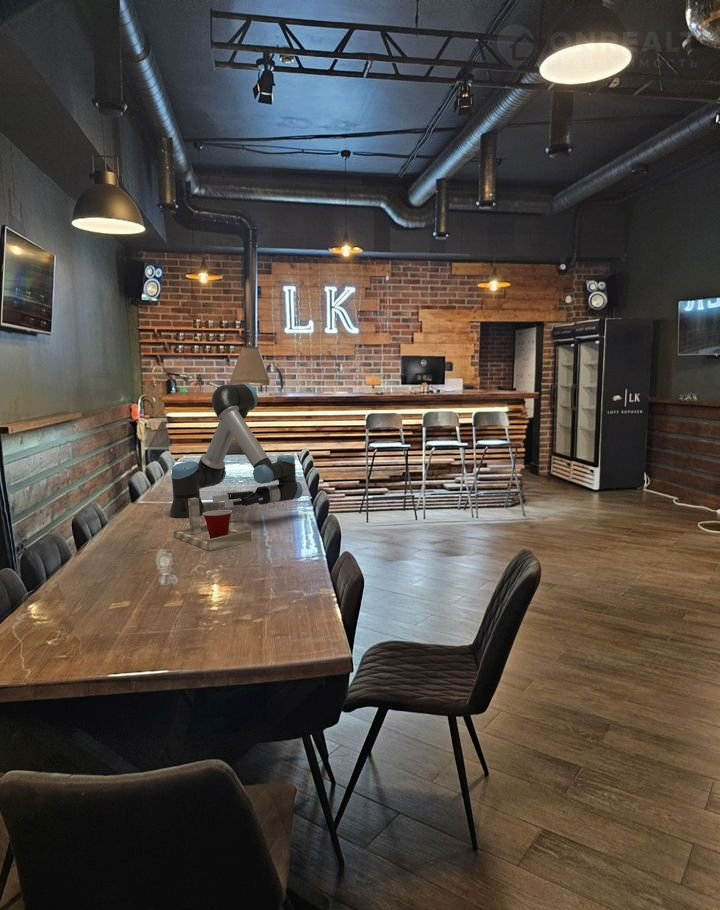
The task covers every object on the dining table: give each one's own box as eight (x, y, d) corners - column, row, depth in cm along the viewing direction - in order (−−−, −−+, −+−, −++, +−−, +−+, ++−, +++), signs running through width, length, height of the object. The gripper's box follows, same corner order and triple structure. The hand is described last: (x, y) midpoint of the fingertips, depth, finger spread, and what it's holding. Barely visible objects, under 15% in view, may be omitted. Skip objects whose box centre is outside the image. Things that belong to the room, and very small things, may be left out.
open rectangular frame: (173, 536, 227) (171, 501, 225) (213, 528, 238) (211, 494, 236) (210, 551, 206) (207, 512, 204) (251, 541, 218) (249, 504, 216)
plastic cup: (231, 537, 225) (229, 506, 224) (236, 544, 215) (234, 512, 214) (202, 540, 221) (200, 509, 220) (206, 548, 211) (204, 515, 210)
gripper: (280, 508, 237) (230, 516, 225) (255, 499, 257) (209, 506, 246) (279, 489, 236) (229, 497, 224) (254, 482, 256) (207, 488, 245)
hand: (218, 501), depth 235 cm, fingers open, 13 cm apart
